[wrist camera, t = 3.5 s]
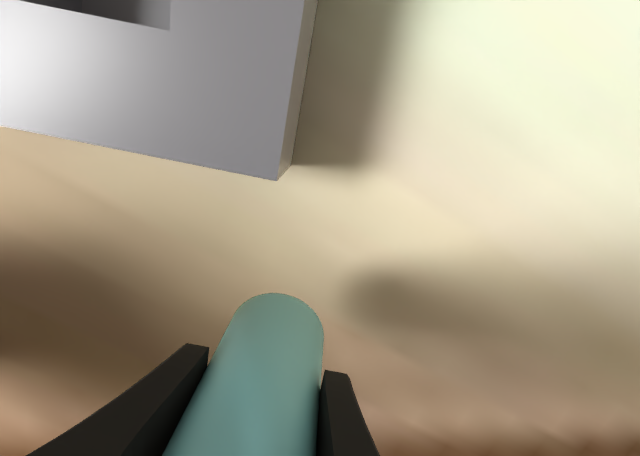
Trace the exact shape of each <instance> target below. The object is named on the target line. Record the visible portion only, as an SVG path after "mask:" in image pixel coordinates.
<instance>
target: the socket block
mask: <svg viewBox="0 0 640 456" xmlns="http://www.w3.org/2000/svg"><path fill="white" fill-rule="evenodd" d="M317 4H318V0H0V126H3V127H8V128H13V129H18V130H23V131H28V132H33V133H38V134H43V135H48V136H53V137H58V138H63V139H68V140H73V141H78V142H83V143H88V144H93V145H98V146H103V147H108V148H113V149H118V150H123V151H128V152H133V153H138V154H143V155H148V156H153V157H158V158H163V159H168V160H173V161H178V162H183V163H188V164H193V165H198V166H203V167H208V168H213V169H218V170H223V171H228V172H233V173H238V174H243V175H248V176H253V177H258V178H263V179H268V180H273V181H277V180H278V179H279V178H280V177H281V176H282V175H283V174H284V172H285V171H286V170H287V169H288V168H289V167H290V166H291V162H292V156H293V150H294V144H295V138H296V132H297V126H298V120H299V113H300V107H301V101H302V95H303V89H304V83H305V77H306V71H307V65H308V59H309V53H310V47H311V40H312V34H313V28H314V22H315V16H316V10H317Z"/></svg>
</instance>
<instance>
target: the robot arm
mask: <svg viewBox="0 0 640 456" xmlns="http://www.w3.org/2000/svg"><path fill="white" fill-rule="evenodd" d="M208 353H209V347H204V346H199V345H193V344H188V343H187V344H185V345H184V346H182V347H181V348H180V349H179V350H177V351H176V352H175V353H174V354H172V355H171V356H170V357H169V358H168V359H166V360H165V361H164V362H163V363H161V364H160V365H159V366H158V367H156V368H155V369H154V370H152V371H151V372H150V373H149V374H147V375H146V376H145V377H143V378H142V379H141V380H139V381H138V382H137V383H135V384H134V385H133V386H132V387H130V388H129V389H128V390H126V391H125V392H124V393H122V394H121V395H119V396H118V397H117V398H115V399H114V400H112V401H111V402H109V403H108V404H107V405H105V406H104V407H102V408H101V409H99V410H98V411H96V412H95V413H93V414H92V415H91V416H89V417H88V418H86V419H85V420H83V421H82V422H80V423H79V424H77V425H75V426H74V427H72V428H71V429H69V430H68V431H66V432H65V433H63V434H61V435H60V436H58V437H56V438H55V439H53V440H51V441H50V442H48V443H46V444H45V445H43V446H41V447H40V448H38V449H36V450H35V451H33V452H31V453H30V454H28V455H26V456H162V454H163V453H164V451H165V449H166V447H167V445H168V443H169V441H170V439H171V437H172V435H173V433H174V431H175V429H176V427H177V425H178V423H179V421H180V419H181V417H182V415H183V413H184V411H185V409H186V408H187V406H188V404H189V402H190V400H191V398H192V396H193V394H194V392H195V390H196V388H197V386H198V384H199V382H200V380H201V378H202V376H203V374H204V372H205V370H206V368H207V362H208ZM316 456H380V455H379V452H378V450H377V448H376V446H375V444H374V441H373V439H372V437H371V434H370V432H369V430H368V428H367V425H366V423H365V420H364V418H363V415H362V413H361V410H360V407H359V405H358V402H357V399H356V397H355V394H354V391H353V388H352V384H351V381H350V378H349V377H348V375H347V374H344V373H339V372H333V371H328V370H325V372H324V376H323V380H322V385H321V389H320V398H319V412H318V430H317V444H316Z"/></svg>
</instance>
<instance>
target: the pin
mask: <svg viewBox="0 0 640 456" xmlns="http://www.w3.org/2000/svg"><path fill="white" fill-rule="evenodd" d="M323 342H324V333H323V327H322V324H321V322H320V320H319V318H318V316H317V315H316V313H315V312H314V311H313V310H312V309H311V308H310V307H309V306H308V305H307V304H305V303H304V302H303V301H301V300H299V299H297V298H295V297H292V296H289V295H285V294H279V293H268V294H262V295H258V296H255V297H253V298H251V299H249V300H247V301H246V302H244V303H243V304H242V305H241V306H240V307H239V308H238V309H237V311H236V312H235V314H234V316H233V318H232V320H231V321H230V323H229V325H228V327H227V329H226V331H225V333H224V335H223V337H222V339H221V341H220V343H219V345H218V347H217V349H216V351H215V353H214V355H213V357H212V359H211V361H210V363H209V365H208V366H207V368H206V370H205V372H204V374H203V376H202V378H201V380H200V382H199V384H198V386H197V388H196V390H195V392H194V394H193V396H192V398H191V400H190V402H189V404H188V406H187V408H186V409H185V411H184V413H183V415H182V417H181V419H180V421H179V423H178V425H177V427H176V429H175V431H174V433H173V435H172V437H171V439H170V441H169V443H168V445H167V447H166V449H165V451H164V453H163V454H162V456H316V444H317V430H318V412H319V398H320V386H321V371H322V356H323Z"/></svg>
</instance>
